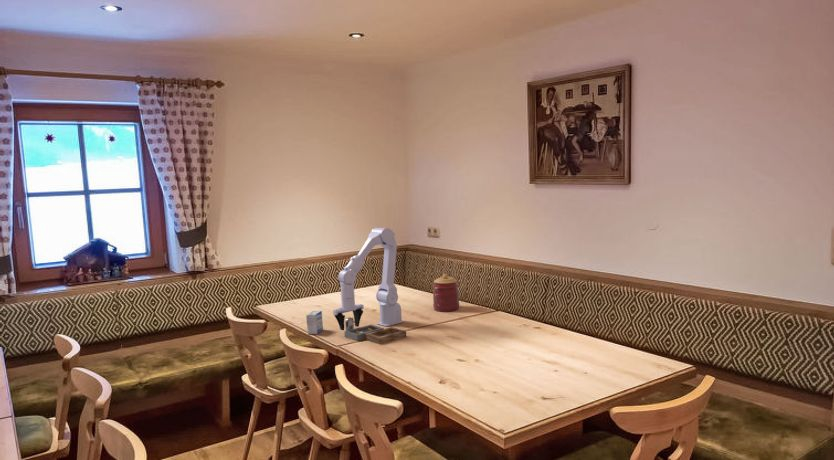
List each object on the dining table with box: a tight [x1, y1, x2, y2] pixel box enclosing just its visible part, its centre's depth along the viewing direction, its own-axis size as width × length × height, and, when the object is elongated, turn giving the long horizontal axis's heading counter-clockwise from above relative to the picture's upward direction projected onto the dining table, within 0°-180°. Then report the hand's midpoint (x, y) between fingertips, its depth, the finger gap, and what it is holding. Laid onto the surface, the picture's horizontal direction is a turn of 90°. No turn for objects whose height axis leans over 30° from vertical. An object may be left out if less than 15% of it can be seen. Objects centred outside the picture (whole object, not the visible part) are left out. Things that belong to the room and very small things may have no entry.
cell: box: [344, 316, 355, 331], centre depth 262 cm, size 4×4×6 cm
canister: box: [432, 273, 461, 313], centre depth 296 cm, size 13×13×18 cm
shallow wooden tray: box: [364, 326, 407, 345], centre depth 251 cm, size 14×10×2 cm
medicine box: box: [305, 310, 324, 335], centre depth 265 cm, size 8×4×9 cm, turn 168°
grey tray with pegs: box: [343, 324, 385, 342], centre depth 256 cm, size 14×9×3 cm
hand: (349, 328), depth 262 cm, fingers open, 7 cm apart
